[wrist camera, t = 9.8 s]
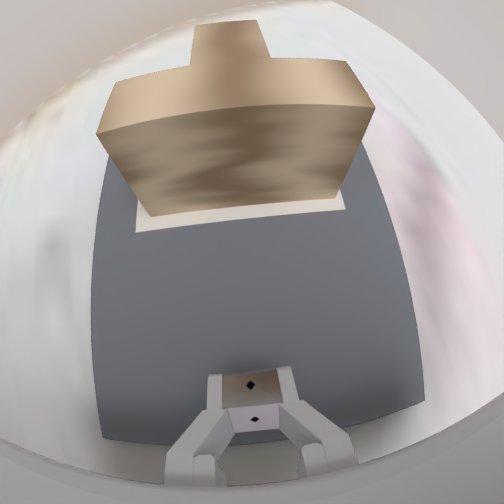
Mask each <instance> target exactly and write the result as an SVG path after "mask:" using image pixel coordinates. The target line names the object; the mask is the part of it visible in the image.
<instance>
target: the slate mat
mask: <svg viewBox="0 0 504 504" xmlns="http://www.w3.org/2000/svg"><path fill="white" fill-rule="evenodd" d="M91 343H92V360H93V372H94V382H95V391H96V399H97V406H98V413H99V419H100V424H101V430H102V435H103V438H106V439H112V440H119V441H126V442H134V443H144V444H156V445H172V446H173V445H174V444H175V443H176V441H177V440H178V439H179V438H180V437H181V436H182V434H183V433H184V432H185V431H186V430H187V429H188V427H189V426H190V425H191V424H192V423H193V421H194V420H195V419H196V418H197V417H198V415H199V414H200V413H201V412H202V410H207V385H208V376H209V374H225V373H241V372H249V371H257V370H265V369H272V368H281V367H287V366H290V367H291V370H292V374H293V377H294V381H295V385H296V389H297V393H298V397H299V400H304V401H305V402H307V403H308V404H309V405H310V406H312V407H313V408H314V409H316V410H317V411H318V412H319V413H321V414H322V415H323V416H325V417H326V418H327V419H329V420H330V421H331V422H333V423H334V424H335V425H337V426H338V427H339V428H345V427H349V426H353V425H356V424H360V423H363V422H367V421H370V420H373V419H377V418H380V417H383V416H386V415H389V414H392V413H394V412H397V411H400V410H403V409H405V408H408V407H410V406H413V405H415V404H418V403H420V402H423V401H425V396H424V381H423V370H422V360H421V352H420V344H419V337H418V330H417V324H416V318H415V313H414V307H413V302H412V297H411V292H410V288H409V283H408V279H407V275H406V270H405V266H404V262H403V259H402V255H401V251H400V247H399V244H398V240H397V237H396V234H395V230H394V227H393V224H392V221H391V217H390V214H389V211H388V208H387V205H386V202H385V200H384V197H383V194H382V191H381V188H380V186H379V183H378V180H377V178H376V175H375V173H374V170H373V168H372V165H371V163H370V160H369V158H368V155H367V153H366V151H365V148H364V146H363V144H362V142H361V143H360V145H359V147H358V150H357V152H356V154H355V156H354V159H353V161H352V163H351V165H350V167H349V170H348V172H347V174H346V176H345V178H344V180H343V183H342V185H341V187H340V189H339V191H338V193H337V195H336V197H335V199H320V200H305V201H292V202H280V203H269V204H258V205H247V206H238V207H228V208H219V209H210V210H202V211H194V212H186V213H178V214H171V215H163V216H156V217H150V215H149V214H148V212H147V211H146V210H145V208H144V207H143V205H142V204H141V202H140V201H139V199H138V198H137V197H136V195H135V194H134V192H133V191H132V189H131V188H130V186H129V185H128V183H127V182H126V180H125V179H124V177H123V176H122V174H121V173H120V171H119V170H118V168H117V167H116V165H115V164H114V162H113V161H112V159H111V157H110V156H109V157H108V162H107V166H106V171H105V176H104V181H103V186H102V192H101V198H100V204H99V210H98V217H97V225H96V233H95V242H94V252H93V265H92V283H91ZM286 439H288V438H287V437H286V436H285V434H284V433H283V432H282V431H281V430H280V429H279V428H278V429H269V430H258V431H249V432H240V433H234V436H233V437H232V439H231V441H230V442H229V444H228V445H242V444H254V443H263V442H272V441H279V440H286Z"/></svg>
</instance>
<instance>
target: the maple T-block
mask: <svg viewBox="0 0 504 504" xmlns="http://www.w3.org/2000/svg"><path fill="white" fill-rule="evenodd" d="M374 110H375V106H374V104H373V102H372V101H371V99H370V97H369V96H368V94H367V92H366V91H365V89H364V88H363V86H362V84H361V83H360V81H359V80H358V78H357V77H356V75H355V74H354V72H353V71H352V69H351V68H350V66H349V65H348V64H347V62H346V61H339V60H327V59H311V58H271V57H270V54H269V52H268V49H267V46H266V44H265V41H264V38H263V36H262V33H261V30H260V28H259V25H258V23H257V20H244V21H230V22H219V23H210V24H203V25H196V26H195V30H194V37H193V44H192V51H191V59H190V65H189V66H183V67H178V68H173V69H168V70H163V71H158V72H154V73H149V74H145V75H141V76H137V77H133V78H130V79H126V80H123V81H119V82H116V83H115V85H114V87H113V90H112V92H111V94H110V97H109V99H108V102H107V104H106V107H105V110H104V112H103V115H102V118H101V121H100V123H99V126H98V129H97V132H96V135H97V137H98V138H99V140H100V142H101V143H102V145H103V146H104V148H105V150H106V151H107V153H108V154H109V156H110V157H111V159H112V161H113V162H114V164H115V165H116V167H117V168H118V170H119V171H120V173H121V174H122V176H123V177H124V179H125V180H126V182H127V183H128V185H129V186H130V188H131V189H132V191H133V192H134V194H135V195H136V197H137V198H138V199H139V201H140V202H141V204H142V205H143V207H144V208H145V210H146V211H147V212H148V214H149V215H150V217H156V216H163V215H171V214H178V213H186V212H194V211H202V210H210V209H219V208H228V207H238V206H247V205H258V204H269V203H280V202H292V201H305V200H320V199H335V197H336V195H337V193H338V191H339V189H340V187H341V185H342V183H343V180H344V178H345V176H346V174H347V172H348V170H349V167H350V165H351V163H352V161H353V159H354V156H355V154H356V152H357V150H358V147H359V145H360V143H361V141H362V138H363V136H364V134H365V131H366V129H367V127H368V124H369V122H370V120H371V117H372V115H373V113H374Z"/></svg>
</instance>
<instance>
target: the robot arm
mask: <svg viewBox="0 0 504 504" xmlns="http://www.w3.org/2000/svg"><path fill="white" fill-rule="evenodd" d="M278 428H279V429H280V430H281V431H282V432H283V433H284V434H285V436H286V437H287V438H288V439H289V440H290V441H291V442H292V443H293V444H294V445H295V446H296V447H297V448H298V449H299V450H300V451H301V455H300V461H299V466H298V476H299V479H295V480H289V481H282V482H275V483H267V484H257V485H244V486H227V479H226V477H225V475H224V473H223V472H222V470H221V468H220V466H219V465H218V463H217V462H218V460H219V458H220V457H221V455H222V454H223V452H224V450H225V449H226V447H227V446H228V444H229V442H230V441H231V439H232V437H233V436H234V433H240V432H249V431H258V430H269V429H278ZM0 504H504V392H503V393H501V394H500V395H499V396H497V397H496V398H494V399H493V400H492V401H490V402H489V403H487V404H486V405H484V406H483V407H481V408H480V409H478V410H477V411H475V412H473V413H472V414H470V415H469V416H467V417H465V418H464V419H462V420H460V421H458V422H457V423H455V424H453V425H451V426H450V427H448V428H446V429H444V430H442V431H440V432H438V433H436V434H434V435H432V436H430V437H428V438H426V439H424V440H422V441H420V442H417V443H415V444H413V445H411V446H408V447H406V448H403V449H401V450H399V451H396V452H393V453H391V454H388V455H386V456H383V457H380V458H377V459H374V460H371V461H368V462H365V463H362V464H359V463H358V460H357V457H356V454H355V451H354V449H353V446H352V443H351V440H350V437H349V434H347V433H346V432H345V431H343V430H342V429H341V428H339V427H338V426H337V425H335V424H334V423H333V422H331V421H330V420H329V419H327V418H326V417H325V416H323V415H322V414H321V413H319V412H318V411H317V410H316V409H314V408H313V407H312V406H310V405H309V404H308V403H307V402H305V401H304V400H299V397H298V393H297V389H296V385H295V381H294V377H293V374H292V370H291V367H290V366H287V367H281V368H272V369H265V370H257V371H249V372H241V373H225V374H209V376H208V385H207V410H202V412H201V413H200V414H199V415H198V417H197V418H196V419H195V420H194V421H193V423H192V424H191V425H190V426H189V427H188V429H187V430H186V431H185V432H184V433H183V434H182V436H181V437H180V438H179V439H178V440H177V441H176V443H175V444H174V445H173V446H172V447H171V448H170V449H169V451H168V452H167V455H166V464H165V475H164V484H155V483H147V482H140V481H133V480H127V479H122V478H117V477H112V476H107V475H103V474H98V473H94V472H90V471H86V470H83V469H79V468H76V467H72V466H69V465H66V464H63V463H60V462H57V461H54V460H51V459H49V458H46V457H43V456H41V455H38V454H36V453H33V452H31V451H28V450H26V449H24V448H21V447H19V446H17V445H15V444H13V443H11V442H9V441H7V440H5V439H3V438H1V437H0Z"/></svg>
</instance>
